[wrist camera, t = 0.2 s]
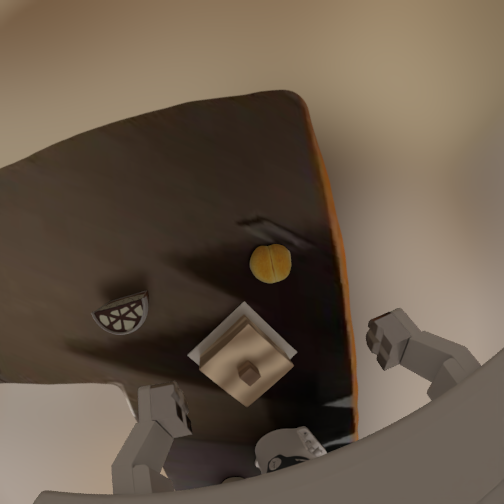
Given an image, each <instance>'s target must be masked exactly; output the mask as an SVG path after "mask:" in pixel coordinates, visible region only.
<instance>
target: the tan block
mask: <svg viewBox="0 0 504 504" xmlns="http://www.w3.org/2000/svg"><path fill="white" fill-rule="evenodd" d="M292 367H294V365H293V363H292V362H291V360H290V359H289V357H288V356H287V354H286V353H285V352H284V351H283V350H282V349H281V348H280V347H279V346H278V345H276V344H275V343H274V342H273V341H272V340H271V339H270V338H269V337H268V336H267V335H266V334H265V333H264V332H262V331H261V330H260V329H259V328H258V327H257V326H256V325H255V324H254V323H253V322H252V321H251V320H250V319H249V318H248V317H247V316H246V315H245V314H244V315H243V316H241V317H240V318H239V319H238V320H237V321H236V322H235V323H234V324H233V325H232V326H231V327H230V328H229V329H228V330H227V331H226V332H225V333H224V334H223V335H221V336H220V337H219V338H218V339H217V340H216V341H215V342H214V343H213V344H212V345H211V346H210V347H209V348H208V349H206V350H205V351H204V352H203V353H202V354H201V355H200V364H199V370H200V371H202V372H203V373H204V374H205V375H206V376H208V377H209V378H210V379H211V380H212V381H214V382H215V383H216V384H217V385H219V386H220V387H221V388H222V389H224V390H225V391H226V392H228V393H229V394H230V395H231V396H233V397H234V398H235V399H237V400H238V401H239V402H241V403H242V404H243V405H244V406H246V407H248V406H249V405H250V404H252V403H253V402H254V401H255V400H256V399H257V398H259V397H260V396H261V395H262V394H263V393H264V392H266V391H267V390H268V389H269V388H270V387H271V386H273V385H274V384H275V383H276V382H277V381H278V380H279V379H280V378H282V377H283V376H284V375H285V374H286V373H287V372H288V371H289V370H290V369H291V368H292Z"/></svg>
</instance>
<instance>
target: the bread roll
mask: <svg viewBox="0 0 504 504" xmlns="http://www.w3.org/2000/svg"><path fill="white" fill-rule="evenodd" d="M250 269H251V271H252V273H253V274H254V276H255V277H256V278H257V279H259V280H260V281H262V282H265V283H275V282H278V281H281V280H283V279H285V278H286V277H287V276H288V275H289V273H290V269H291V257H290V251H289V250H287V249H286V247H284V246H283V245H280V244H272V245H270V246H259V247H258V248H256V249H255V251H254V252H253V254H252V256H251V259H250Z"/></svg>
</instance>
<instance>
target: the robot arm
mask: <svg viewBox="0 0 504 504" xmlns="http://www.w3.org/2000/svg"><path fill="white" fill-rule="evenodd" d="M368 327H369V328H370V329H369V331H368V332H367V334H366V341H367V345H368V347H369V349H370V351H371V352H372V353H374V354H376V355H377V361H378V363H379V364H380V366H381V367H382V369H383V370H384V371H385V370H387V369H389V368H391V367H394V366H396V365H398V364H400V365H402V366H403V367H405V368H407V369H409V370H411V371H413V372H414V373H416V374H418V375H420V376H421V377H423V378H425V379H427V380H429V381H430V382H432V384H431V385H430V387H429V389H428V391H427V394H428V396H429V397H430V399H431V400H432V401H431V402H429V403H428V404H426V405H424V406H423V407H421V408H419V409H418V410H416V411H414V412H413V413H411V414H409V415H408V416H405V417H404V418H402V419H400V420H398V421H397V422H394V423H393V424H391V425H389V426H387V427H385V428H383V429H381V430H379V431H377V432H375V433H373V434H371V435H369V436H367V437H365V438H363V439H360V440H358V441H356V442H353V443H351V444H349V445H346V446H344V447H342V448H339V449H337V450H334V451H332V452H329V453H327V452H326V450H325V448H324V447H323V446H322V445H321V444H320V443H319V441H318V440H317V439H316V438H315V437H314V436H313V434H312V433H311V432H310V431H309V430H308V428H307V427H305V426H302V427H298V428H295V429H279V430H275V431H272V432H270V433H268V434H266V435H265V436H263V437H262V438H261V439H260V440H259V441H258V443H257V444H256V447H255V454H256V460H255V466H256V467H258V468H260V470H261V472H262V475H259V476H255V477H251V478H247V479H242V480H238V481H233V482H229V483H224V484H219V485H213V486H207V487H201V488H195V489H188V490H180V491H174V487H173V482H172V481H171V480H170V479H168V478H166V477H165V476H163V475H161V474H160V472H161V469H162V467H163V464H164V462H165V459H166V457H167V454H168V452H169V449H170V447H171V445H172V442H173V440H174V439H173V438H176V437H181V436H186V435H191V434H193V433H192V427H191V421H190V419H189V418H188V417H187V413H188V411H189V409H188V404H187V401H186V397H185V395H184V393H183V392H182V390H179V388H178V384H177V383H176V381H171V382H166V383H161V384H155V385H149V386H144V387H139V390H138V410H139V423H136V424H135V426H134V428H133V429H132V431H131V433H130V435H129V436H128V438H127V440H126V441H125V443H124V445H123V447H122V449H121V450H120V452H119V454H118V455H117V457H116V459H115V461H114V462H113V464H112V483H113V495H107V494H81V493H68V492H58V491H43V492H41V493H40V494H39V496H38V497H37V498H36V500H35V501H34V503H33V504H504V348H503V349H502V350H500V351H499V352H498V353H497V354H496V355H495V356H493V357H492V358H491V359H490V360H488V361H487V362H486V363H485V364H483V365H482V366H481V365H480V363H479V362H478V361H477V360H476V359H475V357H474V356H473V355H472V354H471V353H470V351H469V350H468V349H467V348H466V347H465V346H462V345H460V344H457V343H454V342H452V341H449V340H446V339H444V338H441V337H439V336H436V335H434V334H431V333H429V332H426V331H422V332H421V331H420V330H419V328H418V327H417V326H416V325H415V324H414V323H413V321H412V320H411V319H410V318H409V317H408V315H407V314H406V313H405V312H404V311H403V310H402V309H401V308H397V309H395V310H393V311H391V312H388V313H385V314H383V315H381V316H378V317H376V318H374V319H371V320H370V321H369V323H368ZM305 432H306V433H305Z"/></svg>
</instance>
